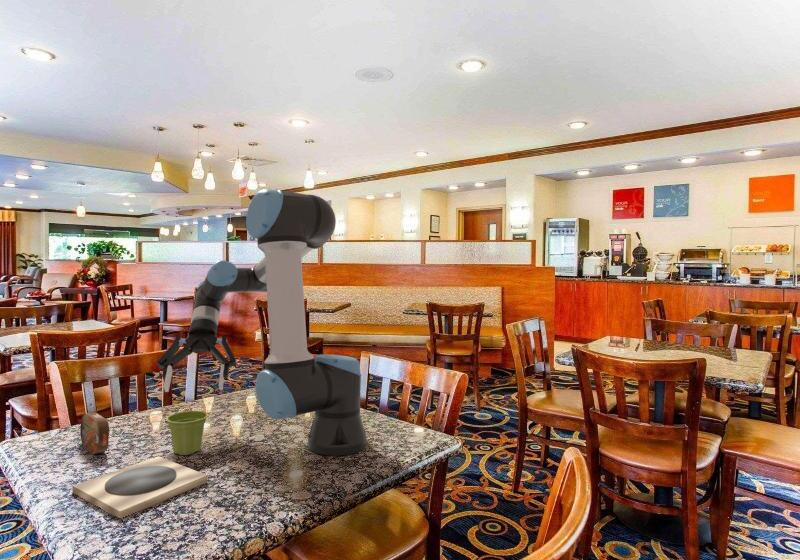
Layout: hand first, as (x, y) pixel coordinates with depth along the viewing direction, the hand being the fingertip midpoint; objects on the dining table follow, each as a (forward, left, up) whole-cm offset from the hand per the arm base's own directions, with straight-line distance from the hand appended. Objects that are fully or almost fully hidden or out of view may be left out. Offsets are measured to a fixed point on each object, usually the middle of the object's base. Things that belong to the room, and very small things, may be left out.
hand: (193, 388), depth 127 cm
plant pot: (-7, +6, -13) cm, 16 cm away
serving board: (-17, +23, -13) cm, 32 cm away
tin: (+13, +18, -14) cm, 26 cm away
